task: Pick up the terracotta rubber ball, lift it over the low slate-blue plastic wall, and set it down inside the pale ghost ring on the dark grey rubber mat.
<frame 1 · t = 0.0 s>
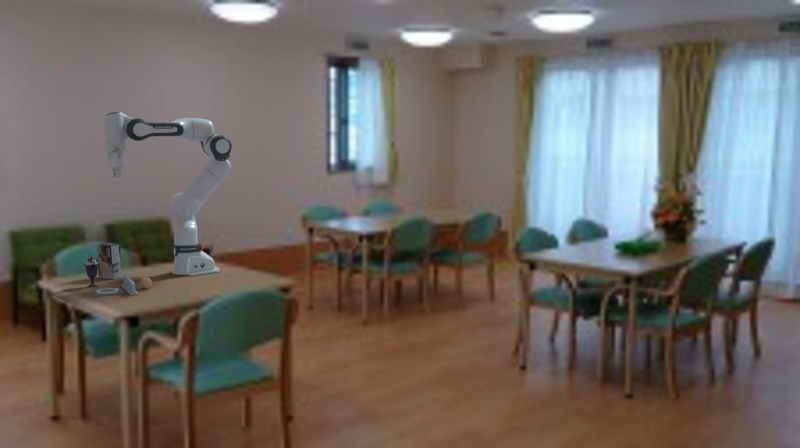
hand: (116, 177, 353), 48 cm above the table, fingers open, 8 cm apart
low wall: (129, 290, 334), on the table
ball: (145, 283, 338), point 2 cm above the table
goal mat: (108, 292, 330), on the table
coffee box: (110, 277, 362), on the table
sundae: (92, 286, 343), on the table
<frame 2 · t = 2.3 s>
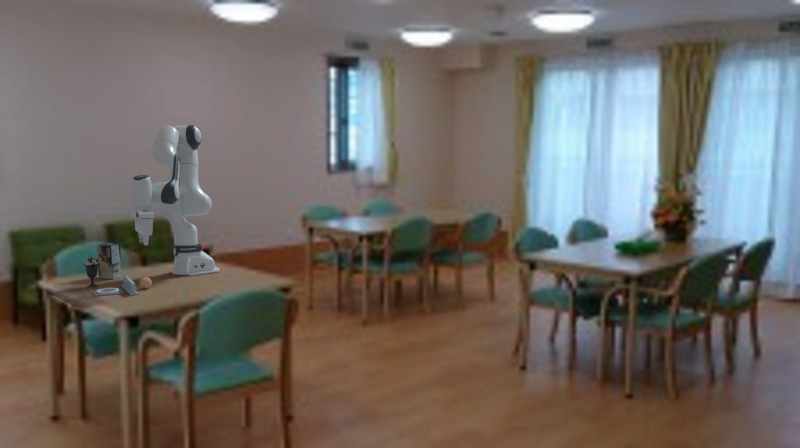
hand: (143, 243, 335), 20 cm above the table, fingers open, 8 cm apart
nothing on the table moved.
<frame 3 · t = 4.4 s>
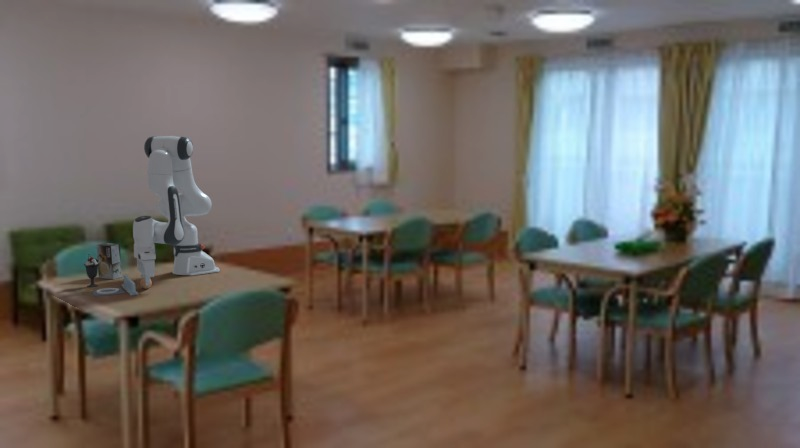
hand: (145, 283, 338), 2 cm above the table, fingers closed on ball, 5 cm apart
ball: (145, 283, 338), point 2 cm above the table, touching gripper
everything else where it was.
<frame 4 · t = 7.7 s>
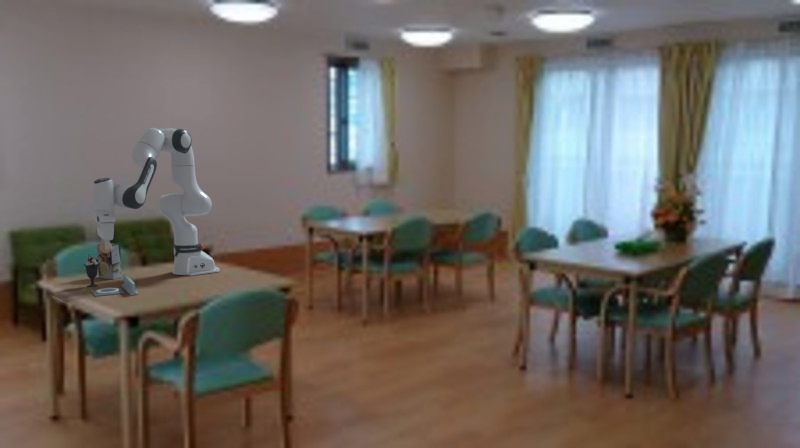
hand: (105, 248, 327), 19 cm above the table, fingers closed on ball, 5 cm apart
ball: (105, 247, 327), point 20 cm above the table, touching gripper
everything else where it was.
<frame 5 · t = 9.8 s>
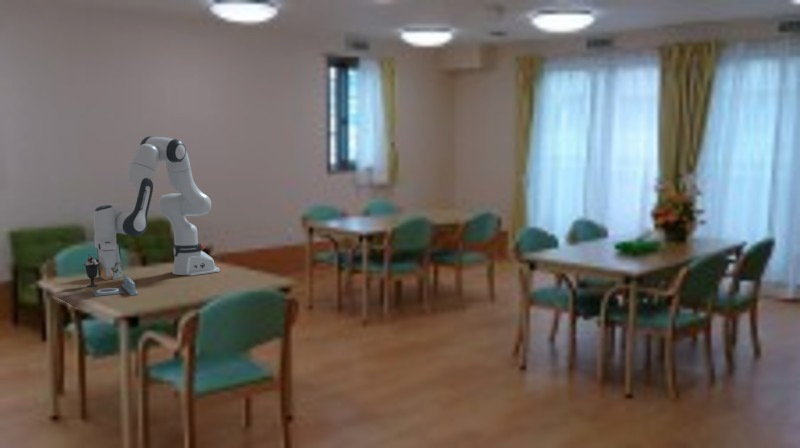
hand: (107, 275, 329), 8 cm above the table, fingers closed on ball, 5 cm apart
ball: (107, 274, 329), point 8 cm above the table, touching gripper
everything else where it was.
when the fingers open (3 cm above the table, at t = 11.2 s): ball stays where it is, resting on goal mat.
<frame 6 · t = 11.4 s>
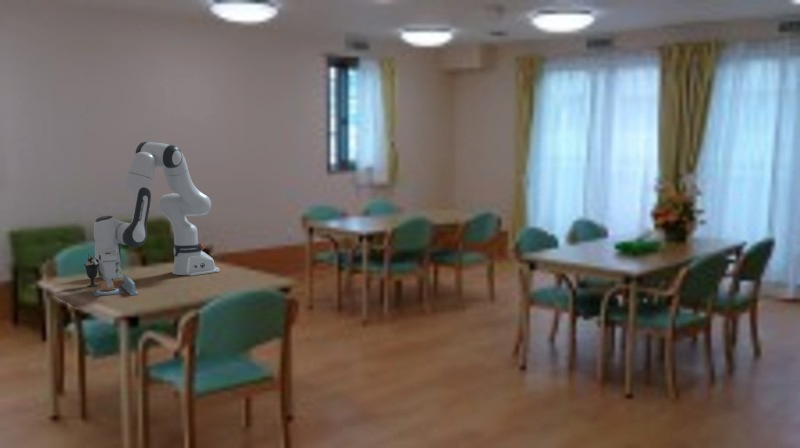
hand: (107, 285, 330), 3 cm above the table, fingers open, 7 cm apart
ball: (107, 285, 330), point 3 cm above the table, touching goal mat
everything else where it was.
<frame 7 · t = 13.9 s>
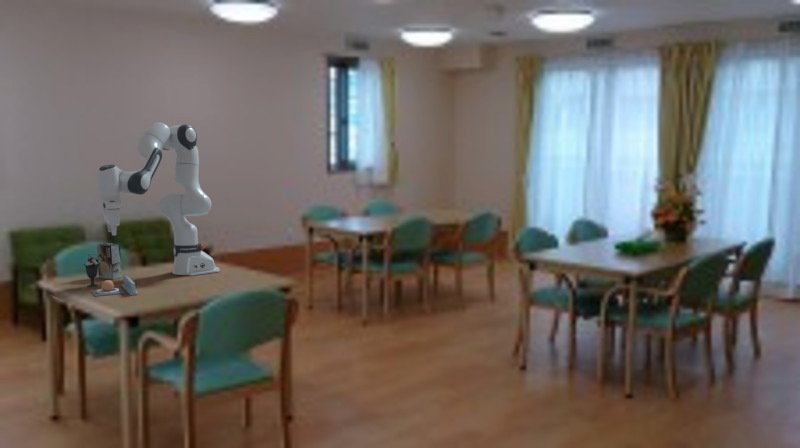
hand: (112, 233, 335), 25 cm above the table, fingers open, 8 cm apart
nothing on the table moved.
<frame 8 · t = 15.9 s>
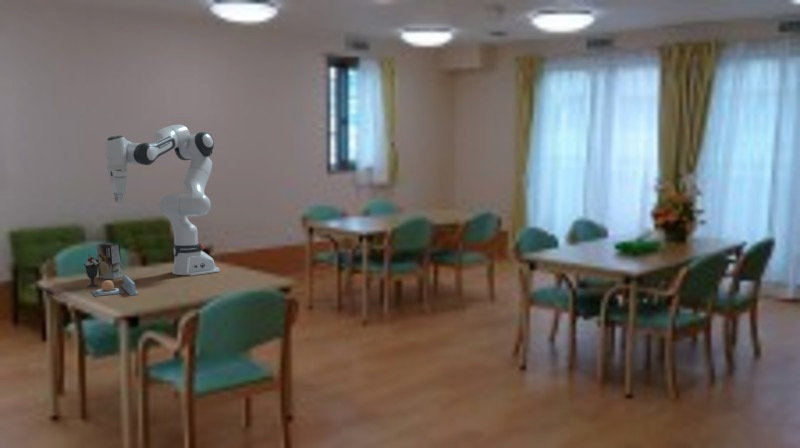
hand: (118, 202, 345), 37 cm above the table, fingers open, 8 cm apart
nothing on the table moved.
at the end: ball 0.2 cm off-centre on the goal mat, point 2.9 cm above the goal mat's base; ball touching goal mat; the gripper is holding nothing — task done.
